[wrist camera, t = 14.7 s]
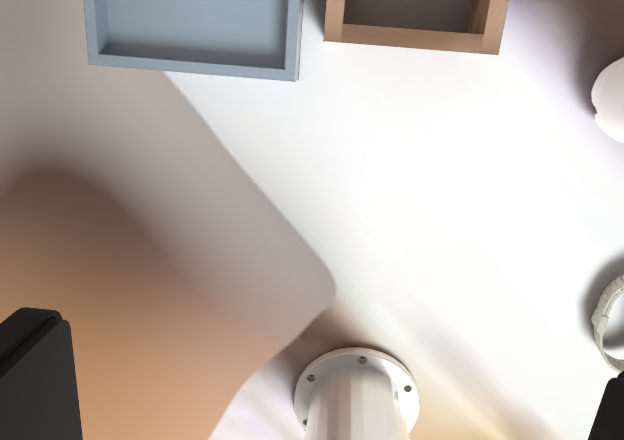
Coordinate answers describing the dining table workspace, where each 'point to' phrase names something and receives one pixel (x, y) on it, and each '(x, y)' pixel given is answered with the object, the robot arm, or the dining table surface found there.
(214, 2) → the tray
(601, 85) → the water bottle
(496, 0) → the frame
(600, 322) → the wristwatch
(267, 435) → the dining table surface
